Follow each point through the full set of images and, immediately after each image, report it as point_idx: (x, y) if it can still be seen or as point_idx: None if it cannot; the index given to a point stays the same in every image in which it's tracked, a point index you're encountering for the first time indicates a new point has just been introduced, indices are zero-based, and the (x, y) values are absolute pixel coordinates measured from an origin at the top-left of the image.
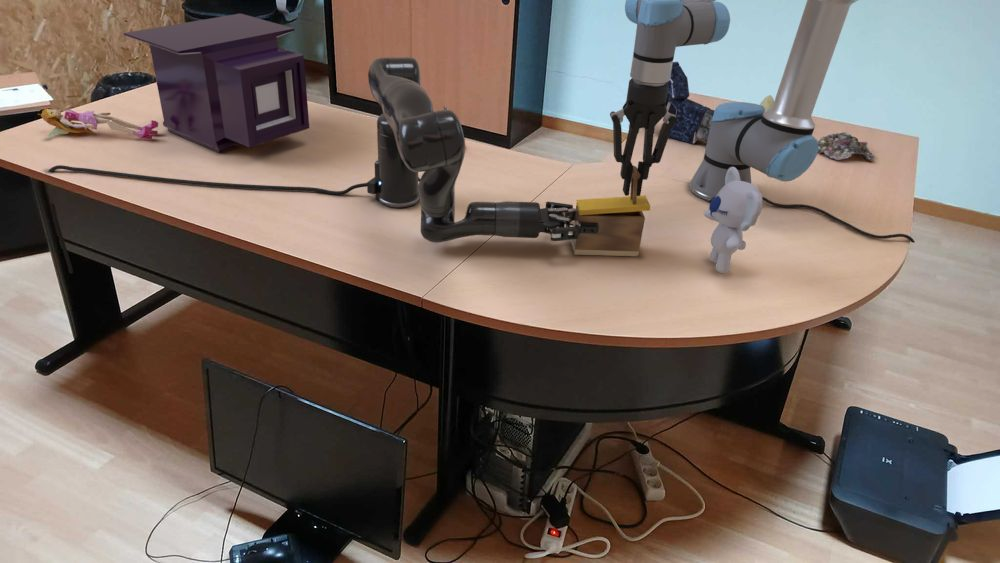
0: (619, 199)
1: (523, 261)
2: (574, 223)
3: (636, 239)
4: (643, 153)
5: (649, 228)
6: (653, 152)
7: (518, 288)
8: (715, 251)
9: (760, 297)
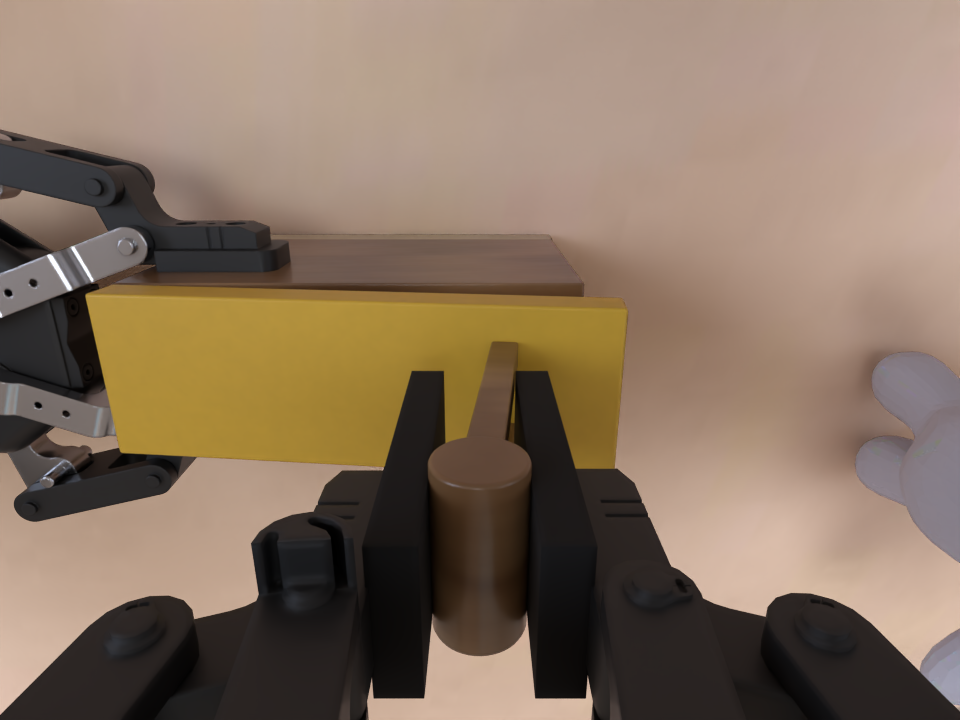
0: (405, 347)
1: None
2: None
3: None
4: (611, 703)
5: (697, 16)
6: (815, 716)
7: (36, 587)
8: (909, 426)
9: (928, 597)
